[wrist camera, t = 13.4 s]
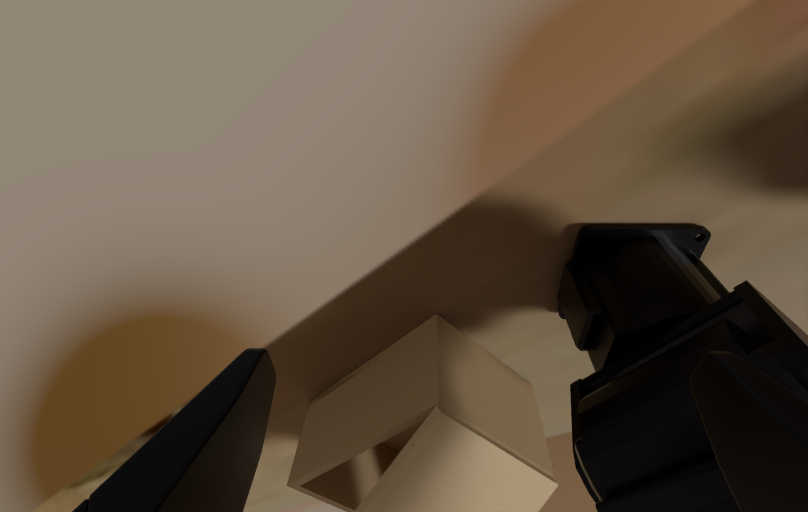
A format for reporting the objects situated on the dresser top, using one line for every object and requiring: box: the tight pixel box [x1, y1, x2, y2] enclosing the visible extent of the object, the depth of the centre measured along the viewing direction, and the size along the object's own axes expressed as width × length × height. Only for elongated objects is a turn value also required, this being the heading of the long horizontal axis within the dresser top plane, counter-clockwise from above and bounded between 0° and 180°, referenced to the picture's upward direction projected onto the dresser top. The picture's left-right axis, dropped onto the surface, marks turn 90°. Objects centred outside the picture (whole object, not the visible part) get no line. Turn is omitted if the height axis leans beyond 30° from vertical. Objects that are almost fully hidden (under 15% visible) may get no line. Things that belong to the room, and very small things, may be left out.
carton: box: [287, 314, 553, 512], centre depth 28 cm, size 14×10×6 cm
